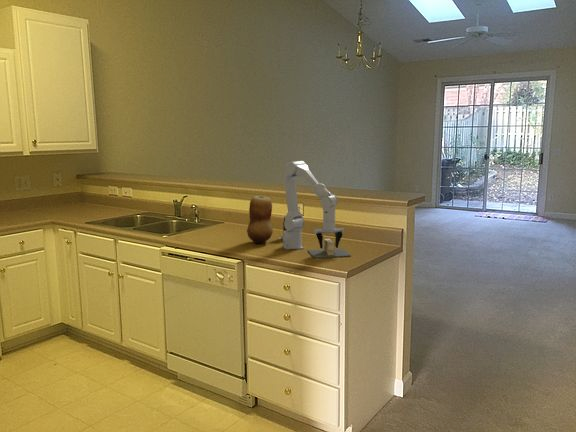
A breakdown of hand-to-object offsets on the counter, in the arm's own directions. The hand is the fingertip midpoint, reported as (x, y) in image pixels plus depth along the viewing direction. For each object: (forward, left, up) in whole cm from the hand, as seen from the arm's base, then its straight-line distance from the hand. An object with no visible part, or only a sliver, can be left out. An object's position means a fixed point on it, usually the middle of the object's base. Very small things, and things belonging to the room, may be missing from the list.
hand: (328, 247), depth 238 cm
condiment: (-14, +38, -3) cm, 41 cm away
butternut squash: (-30, +30, -3) cm, 43 cm away
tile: (0, 0, -2) cm, 2 cm away
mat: (0, 0, -3) cm, 3 cm away
